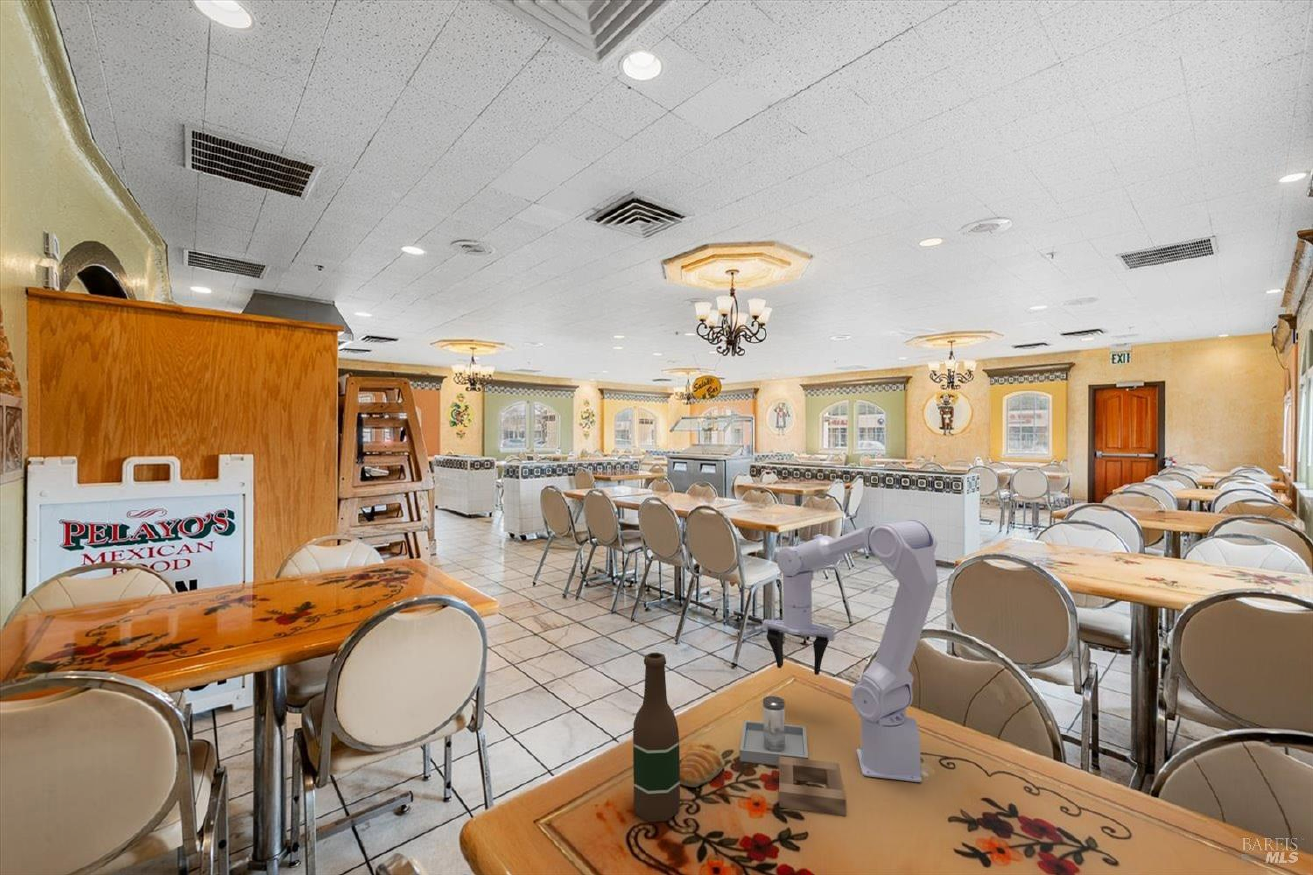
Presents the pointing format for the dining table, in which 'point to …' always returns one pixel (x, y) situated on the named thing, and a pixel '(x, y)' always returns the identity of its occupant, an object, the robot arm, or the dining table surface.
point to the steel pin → (774, 723)
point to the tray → (757, 753)
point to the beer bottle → (656, 748)
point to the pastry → (700, 765)
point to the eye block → (811, 796)
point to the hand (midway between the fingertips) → (798, 669)
